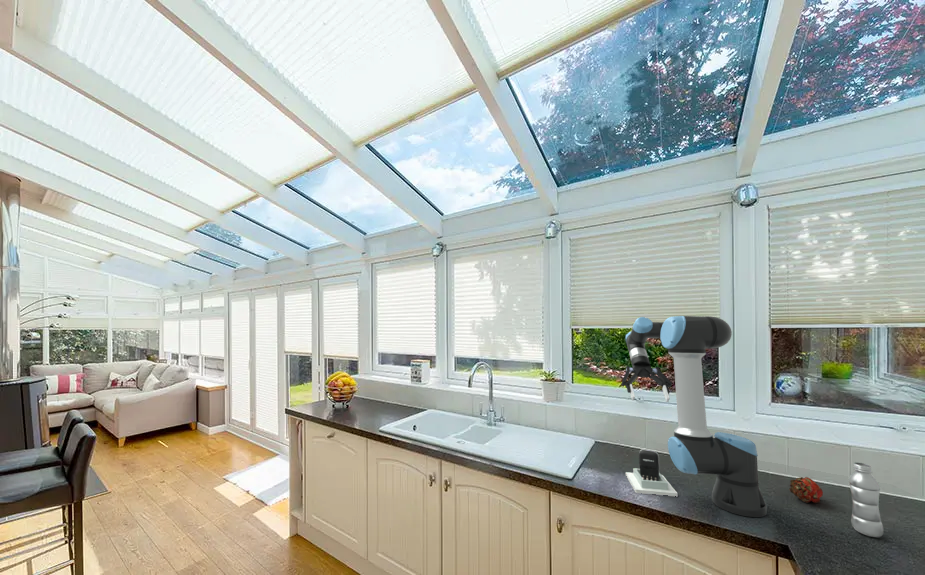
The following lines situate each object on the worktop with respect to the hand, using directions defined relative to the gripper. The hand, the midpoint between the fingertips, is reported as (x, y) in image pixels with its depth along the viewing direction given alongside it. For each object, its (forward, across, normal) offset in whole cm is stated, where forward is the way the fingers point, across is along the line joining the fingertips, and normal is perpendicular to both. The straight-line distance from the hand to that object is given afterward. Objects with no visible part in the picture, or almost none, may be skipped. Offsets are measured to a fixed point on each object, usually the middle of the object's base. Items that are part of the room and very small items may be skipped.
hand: (650, 399), depth 158 cm
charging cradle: (+31, +5, -11) cm, 33 cm away
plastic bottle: (+46, -49, +4) cm, 68 cm away
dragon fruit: (+31, -46, -11) cm, 57 cm away
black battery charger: (+30, +5, -11) cm, 32 cm away
